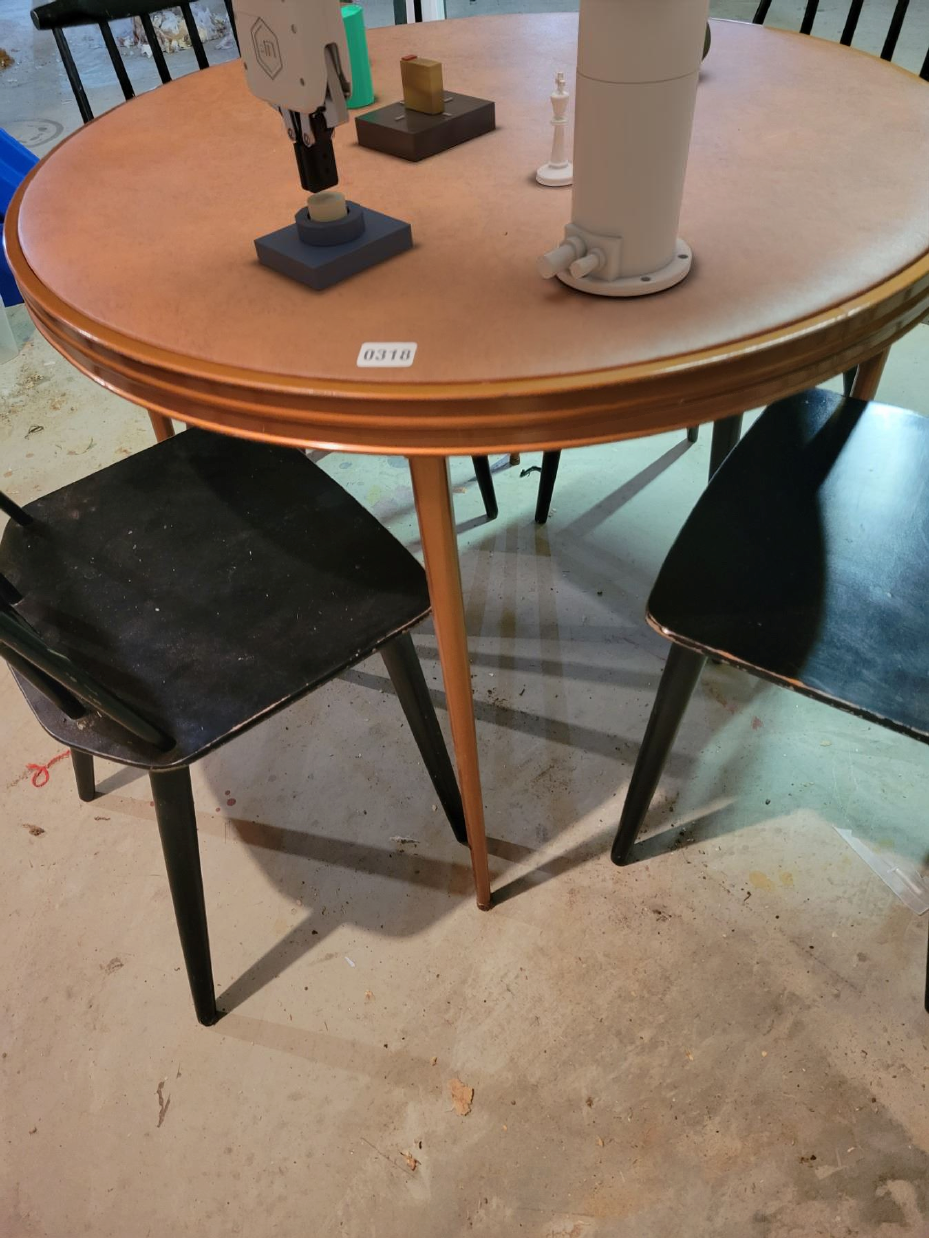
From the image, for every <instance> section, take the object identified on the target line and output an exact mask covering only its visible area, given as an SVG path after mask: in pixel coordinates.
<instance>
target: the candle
mask: <svg viewBox="0 0 929 1238" xmlns="http://www.w3.org/2000/svg"><path fill="white" fill-rule="evenodd" d="M341 12H342V17H343V22H344V27H345V33H346V38H347V44H348V50H349V57H350V64H351V72H352V86H353V89H352V96H351V98H350V99H349V100H348V101H345V102H346V106H347V109H359V108H363V107H367V106H368V105H370V104H372V103H374V102H375V93H374V86H373V79H372V72H371V70H372V69H371V63H370V56H369V49H368V41H367V33H366V26H365V18H364V11H363V7H361V6H360V5H358V4H357V5H350V6H346V7H343V8H341Z"/></svg>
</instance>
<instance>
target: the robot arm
mask: <svg viewBox="0 0 929 1238" xmlns="http://www.w3.org/2000/svg"><path fill="white" fill-rule="evenodd" d="M231 4H232V5H231V6H232V12H233V19H234V24H235V29H236V30H235V31H236V35H237V41H238V46H239V51H240V57H241V61H242V66H243V71H244V77H245V80H246V84H247V87H248V90H249V91H250V92H251V94H252V95H253V96H254V97H255V98H257V99H259V100H260V101H263V102H266V103H267V104H268V106H270V107H271V108H272V109H274V110H275V111H277V112H278V113H279V114H280V116H281V117H282V120H283V122H284V126H285V130H286V134H287V136H288V138H289V140H290V141H291V142H293V143H292V145H293V150H294V156H295V160H296V166H297V170H298V175H299V181H300V185H301V188H302V190H304V191H307V192H310V193H311V194H316V193H319V192H323V191H327V190H329V189H330V188H333V187H336V186H338V185H339V181H340V179H339V173H338V167H337V162H336V161H337V160H336V155H335V149H334V144H333V139H334V138H336V130H335V129H336V128H337V127H341V126H344V125H347V124H348V123H350V119H351V118H350V114H349V110H348V108H347V106H346V102H345V101H348V100H349V99H350V98H351V96H352V89H353V86H352V72H351V64H350V57H349V50H348V44H347V38H346V33H345V27H344V22H343V17H342V12H341V7H340V3H339V0H231ZM710 4H711V0H579V5H578V6H579V7H578V9H579V11H578V29H577V52H576V67H575V91H574V92H575V93H574V119H573V120H574V122H573V123H574V124H573V149H572V151H573V152H572V164H573V174H572V184H571V205H570V222H569V223H567V224H565V225H564V231H563V232H564V233H563V236H564V237H563V238H564V239H563V240H561V242H560V243H558V245H556V247H555V248H554V249H551V250H550V251H548V252H546V253H544V254H543V255H542V254H541V256H539V257H538V258H537V260H536V270H537V272H538V274H539V275H540V277H541V278H543V279H545V280H548V279H550V278H553V277H555V276H557V278H558V279H559V280H561V281H562V282H563V283H564V284H566V285H567V286H569V287H571V288H573V289H576V290H579V291H582V292H584V293H589V294H593V295H596V296H597V295H599V296H608V297H633V296H642V295H648V294H653V293H657V292H661V291H664V290H665V289H668V288H670V287H673V286H674V285H676V284H678V283H679V282H681V281H682V280H683V279H684V278H685V277H686V276H687V275H688V274H689V272H690V270H691V265H692V259H693V253H692V250H691V248H690V247H689V245H688V244H687V243H686V242H685V241H684V240H683V238H680V237H679V236H678V231H679V225H680V217H681V210H682V203H683V196H684V195H683V194H684V189H685V181H686V174H687V167H688V159H689V153H690V145H691V139H692V133H693V132H692V131H693V125H694V118H695V117H694V116H695V109H696V102H697V95H698V87H699V81H700V73H701V72H700V70H701V66H702V62H703V61H702V55H703V48H704V41H705V34H706V26H707V21H708V18H709V11H710Z"/></svg>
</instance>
